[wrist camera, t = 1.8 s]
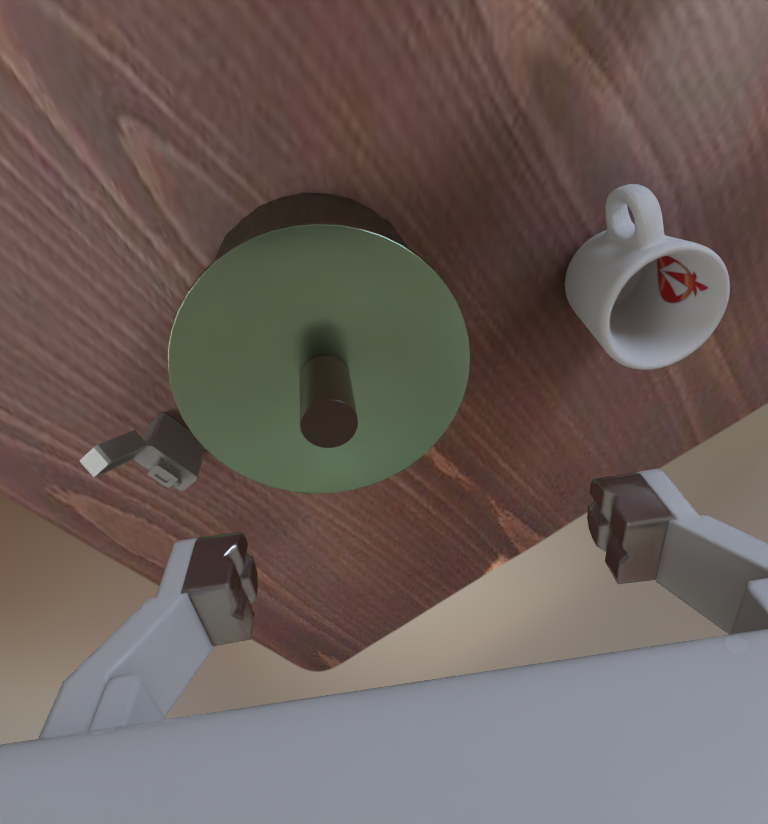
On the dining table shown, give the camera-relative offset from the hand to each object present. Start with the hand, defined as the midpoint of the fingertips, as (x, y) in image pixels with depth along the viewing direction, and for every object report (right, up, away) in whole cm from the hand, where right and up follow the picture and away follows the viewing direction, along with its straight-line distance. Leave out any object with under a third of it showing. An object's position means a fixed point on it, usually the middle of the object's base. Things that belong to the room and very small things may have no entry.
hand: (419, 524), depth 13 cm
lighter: (-17, +2, +28) cm, 33 cm away
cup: (+14, +14, +26) cm, 33 cm away
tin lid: (-4, +5, +16) cm, 17 cm away
